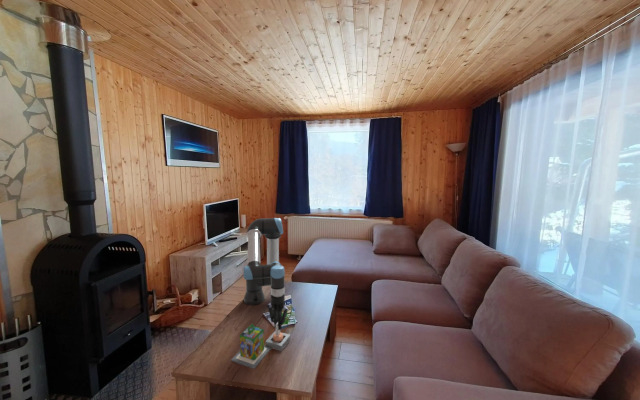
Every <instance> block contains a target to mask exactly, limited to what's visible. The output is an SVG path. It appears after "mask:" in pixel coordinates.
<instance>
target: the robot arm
mask: <svg viewBox="0 0 640 400" xmlns="http://www.w3.org/2000/svg"><path fill="white" fill-rule="evenodd" d="M283 227H284V226H283V223H282V219H281V218H280V217H278V218H277V217H270V218H268V217H267V218H265V217H264V218H263V217H262V218H256V219H255V220H253V221H251V223H250V224H249V226H248V227H247V229H246V237H247V265H245V266H244V267H243V278H244V280H245V283H246V285H245V289H246V290H245V293H244V297H243V298H244V299H243V301H244V302H243V303H244V304H246V305H249V306H255V305H259V304H261V303H263V302H264V301H265V297H266V296H265V293H264V290H263V287H270V302H269V303H268V304H266V307H267V309H268V314H269V317H270V321H271V323H274V324H273V325H274V326H273V327H274V329H275V331H276V336H278V335H279V334H280V332H281V329H282V328H283V327H282V325H283V324H284V323H285V322H286V318H287V314H288V313H287V312H288V310H289V309H290V307H288V306H286V303H285V294H286V292H285V291H286V290H285V289H286V288H285V278H286V277H285V274H286V272H285V267H284V266H283V265H282V264H281V263H280V256H279V255H280V252H279V251H280V249H279V248H280V238H281V237H282V235H283V234H284V228H283ZM262 236H264V237H265V239H266V264H261V237H262Z"/></svg>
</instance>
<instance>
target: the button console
mask: <svg viewBox="0 0 640 400" xmlns="http://www.w3.org/2000/svg"><path fill="white" fill-rule="evenodd" d="M275 333H276V330H275V331H273V333H271V334H270V335H269V337H268V338H267V339H266V340H265V346H268V347H271V350H272V349H274V350H276V351H278V352H279V351H280V352H283V350H284V349H285V347H286V346H287V345H288V344H289V342H290V341H291V334H289V333H285V332H281V331H280V333H282V334H283V340H282V342H280V343H278V342H275V341H273V335H274V334H275Z"/></svg>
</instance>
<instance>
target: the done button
mask: <svg viewBox="0 0 640 400" xmlns="http://www.w3.org/2000/svg"><path fill="white" fill-rule="evenodd" d="M282 333H283V332H282ZM282 333H280V334H279V335H278V336H276V333H275V334H274V335H273V341H275V342H278V343H281V342H282V340H283V334H282Z"/></svg>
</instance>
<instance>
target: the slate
mask: <svg viewBox="0 0 640 400" xmlns="http://www.w3.org/2000/svg"><path fill="white" fill-rule="evenodd" d="M271 350H272V348H271V347H268V346H266V344H264V350H263V351H262V352H261V353H260V355H259V356H258V357H257V358H256V359H255V360H252V359H249V358H246V357H243V356H240V350H239V351H238V352H237V353H236V354H235V355H234V356H233V357H232V358H231V359H230V361H231V362H233V363H236V364H238V365H241V366H245V367H247V368H250V369H253V370H255V369H256V368H257V367H258V366H259V364H260V363H261V362H262V361H263V360H264V359H265V357H266V356H267V355H268V353H270V352H271Z"/></svg>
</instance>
